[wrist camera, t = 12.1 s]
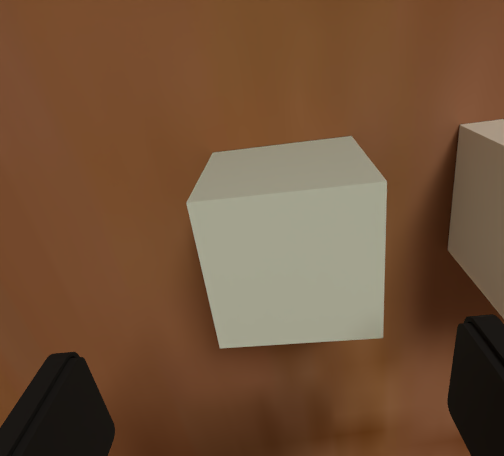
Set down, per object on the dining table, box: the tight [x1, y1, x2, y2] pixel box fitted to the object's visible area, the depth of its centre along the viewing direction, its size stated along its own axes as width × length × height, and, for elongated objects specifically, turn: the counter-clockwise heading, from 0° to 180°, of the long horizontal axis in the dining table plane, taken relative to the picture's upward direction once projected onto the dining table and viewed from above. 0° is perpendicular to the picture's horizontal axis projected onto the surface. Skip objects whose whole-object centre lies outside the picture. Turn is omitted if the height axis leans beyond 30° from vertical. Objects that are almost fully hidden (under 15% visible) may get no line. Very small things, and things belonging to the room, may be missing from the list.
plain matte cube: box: [187, 136, 387, 348], centre depth 16 cm, size 6×6×6 cm
